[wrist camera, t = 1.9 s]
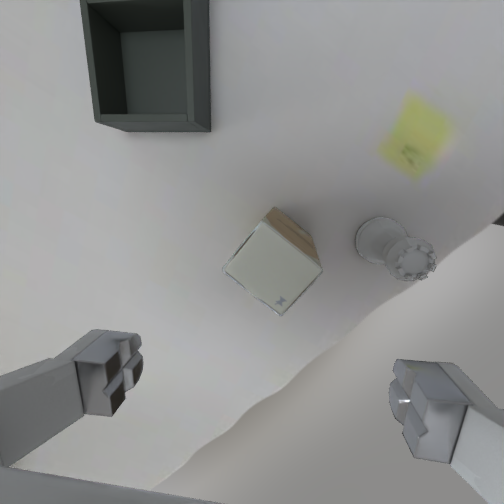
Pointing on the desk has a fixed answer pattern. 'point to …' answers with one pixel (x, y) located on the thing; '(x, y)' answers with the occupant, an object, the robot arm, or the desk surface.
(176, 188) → the desk surface
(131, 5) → the divided tray
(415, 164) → the desk surface
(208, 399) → the desk surface
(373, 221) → the rook chess piece
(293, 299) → the box
